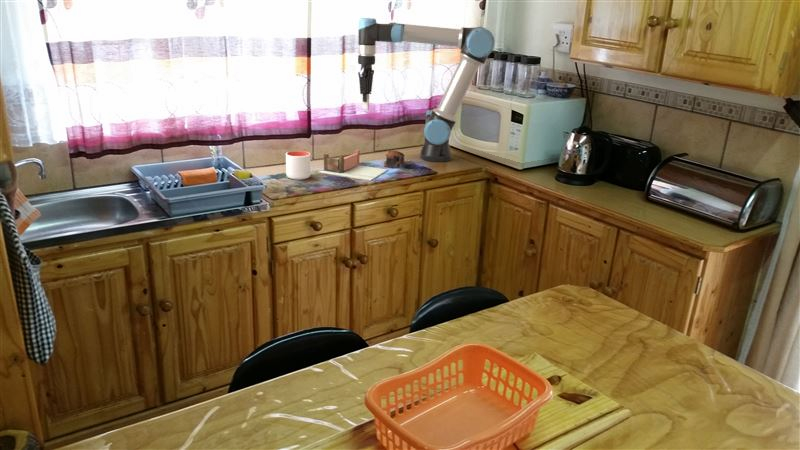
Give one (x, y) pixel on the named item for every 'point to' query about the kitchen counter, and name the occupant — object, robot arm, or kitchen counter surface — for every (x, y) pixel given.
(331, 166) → the fence fixed
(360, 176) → the card
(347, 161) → the fence panel
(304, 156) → the cup
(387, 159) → the brown rock
